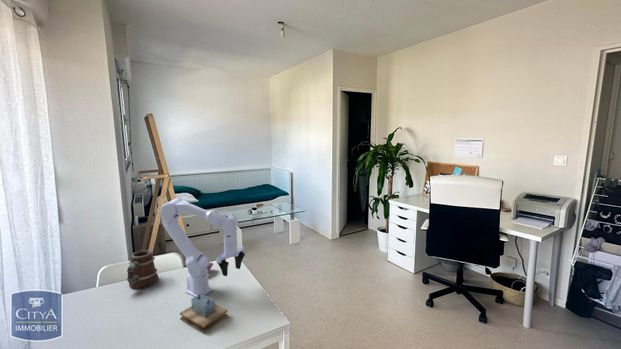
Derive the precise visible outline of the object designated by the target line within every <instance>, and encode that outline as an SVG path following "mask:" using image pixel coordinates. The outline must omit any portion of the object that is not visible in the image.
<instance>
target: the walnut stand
mask: <svg viewBox="0 0 621 349" xmlns="http://www.w3.org/2000/svg"><path fill="white" fill-rule="evenodd" d="M227 313H228V309H227V308H224V307H222V306H220V305H218V304H216V303H215V312H214V313H213V314H211V315H210V316H208V317H207V318H204V317H202V316H200V315H198V314H196V313H195V312H193V311H192V305H191V306H189V307H188V308H186V309H184V310H183V311H181V312H180V313H179V315H180V316H181V317H180V318H179V320H181V322H184V323H185V324H187V325H188V326H191V327H192V328H194V329H196V330H197V331H199V332H201V333H203V334H205V333H207V332H208V331H210V330H211V329H212V328H214V327H215V326H216V325H218V324H219V323H221V322H222V321H224V320H225V319H226V318H228V315H229V314H227Z"/></svg>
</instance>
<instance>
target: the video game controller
mask: <svg viewBox="0 0 621 349" xmlns="http://www.w3.org/2000/svg"><path fill="white" fill-rule="evenodd" d="M213 266H214V263H213V262H211V261H209V265H208V266H207V269H208V273H210V270H211V269H212V268H213Z"/></svg>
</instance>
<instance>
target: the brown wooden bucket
mask: <svg viewBox="0 0 621 349" xmlns="http://www.w3.org/2000/svg"><path fill="white" fill-rule="evenodd" d="M155 258H156V257H155V256H154V255H153V253H152V252H151V250H150V249H148V250H147V249H142V250H139V251H136V252H133V253H132V254H131V256H130V261H129V262H128V264H129V266H128V267H127V268H126V269H127V270H126V272H127V278H126V280H127V282H128V286H129V287H130V288H131V289H132V290H142V289H146V288H150V287H151V286H153V285H155V284H157V283H158V280H159V275H158V273H157V272H158V268H156V266H155V261H154V260H155Z"/></svg>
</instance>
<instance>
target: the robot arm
mask: <svg viewBox="0 0 621 349" xmlns="http://www.w3.org/2000/svg"><path fill="white" fill-rule="evenodd" d="M184 214H189V215H193V216H197V217H199V218H201V219H202V218H203V219H204V220H205V222H206V223H207V224H211V225H214V226H217V227H219V228H220V229H222V231H223V252H222V254H220V255H219V256H217V257H216V263H217V265H218V266H219V268H220V270H221V273H222V276H224V277H228V273H229V272H228V270H229V268H228V267H229V261H227V260H228V259H230V258H234V264H235V269H237V270H240V269H241V266H242V262H243V259H244V257H245V255H246V253H245V247H243V246H239V247H238V232H237V225H238V223H239V220H238V218H237V216H235V215H233V214H228V213H225V214H224V213H222V212H220V211H218V209H211V210H206V209H204V208H202V207H199V206H197V205H195V204H192V203H190V202H188V201H187V200H185V199H181V198H178V197H177V198H173V199H172V200H170V201H168V202H165V203H163V204H162V206H161V207H160V210H159V215H160V217H161V222H162V227H163V228H164V230H166V232H167V234H168V235H169V236H170V238H171V239H172V241H173V242H174V244H175V245H176V246H177V248H178V249H179V251H180V252H181V254H182V255H183V256H184V258H185V266H186V268H187V271H188V272H187V275H186V290H185V293H187V294H189V295H192V296H193V297H196V296H197V295H200V294H201V293H202V294H204V295H206V294H208V293H210V292H211V291H213V290H214V289H213V287H210V285H209V272H208V269H207V266H208V265H209V262H210V259H209V257H208V256H207V255H205V254H204V253H203V252H202V251H200V250H197V248H196V246H195V245H194V244H193V243H192V240H190V238H189V237H188V236H187V234H186V232H185V231H184V230H183V228H182V226H181V225H180V223H179V222H178V220H179V217H180V215H184Z"/></svg>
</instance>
